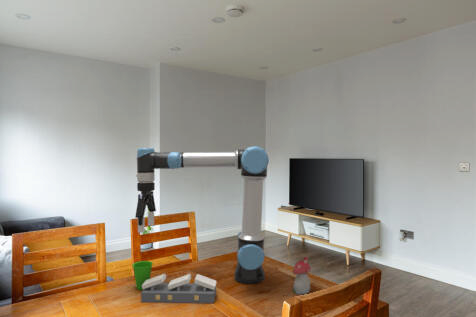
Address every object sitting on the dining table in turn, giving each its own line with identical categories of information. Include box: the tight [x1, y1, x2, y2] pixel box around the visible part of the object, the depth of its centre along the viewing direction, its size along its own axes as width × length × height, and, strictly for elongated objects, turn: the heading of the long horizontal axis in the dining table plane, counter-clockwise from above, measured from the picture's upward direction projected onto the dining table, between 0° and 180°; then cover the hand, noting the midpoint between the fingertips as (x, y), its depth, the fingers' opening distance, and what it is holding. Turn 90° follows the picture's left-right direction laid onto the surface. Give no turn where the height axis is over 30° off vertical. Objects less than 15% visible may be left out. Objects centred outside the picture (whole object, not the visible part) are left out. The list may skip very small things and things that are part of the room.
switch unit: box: [140, 282, 217, 304], centre depth 134 cm, size 30×10×5 cm, turn 89°
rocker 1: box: [142, 273, 167, 289], centre depth 134 cm, size 9×6×2 cm, turn 88°
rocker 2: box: [168, 273, 192, 290], centre depth 134 cm, size 9×6×2 cm, turn 89°
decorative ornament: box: [292, 256, 312, 296], centre depth 139 cm, size 9×7×15 cm
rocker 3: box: [193, 273, 218, 290], centre depth 134 cm, size 9×6×2 cm, turn 89°
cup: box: [132, 260, 154, 291], centre depth 143 cm, size 9×9×11 cm
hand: (146, 228), depth 142 cm, fingers open, 13 cm apart
